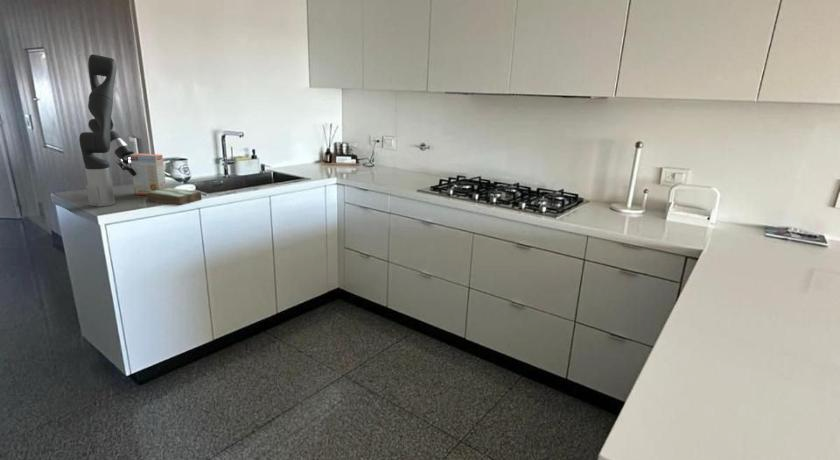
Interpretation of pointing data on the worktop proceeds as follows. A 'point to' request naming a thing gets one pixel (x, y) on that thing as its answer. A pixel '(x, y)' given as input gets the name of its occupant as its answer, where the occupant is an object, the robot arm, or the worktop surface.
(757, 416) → the worktop surface
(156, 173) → the cracker box
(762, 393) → the worktop surface
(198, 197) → the podium
